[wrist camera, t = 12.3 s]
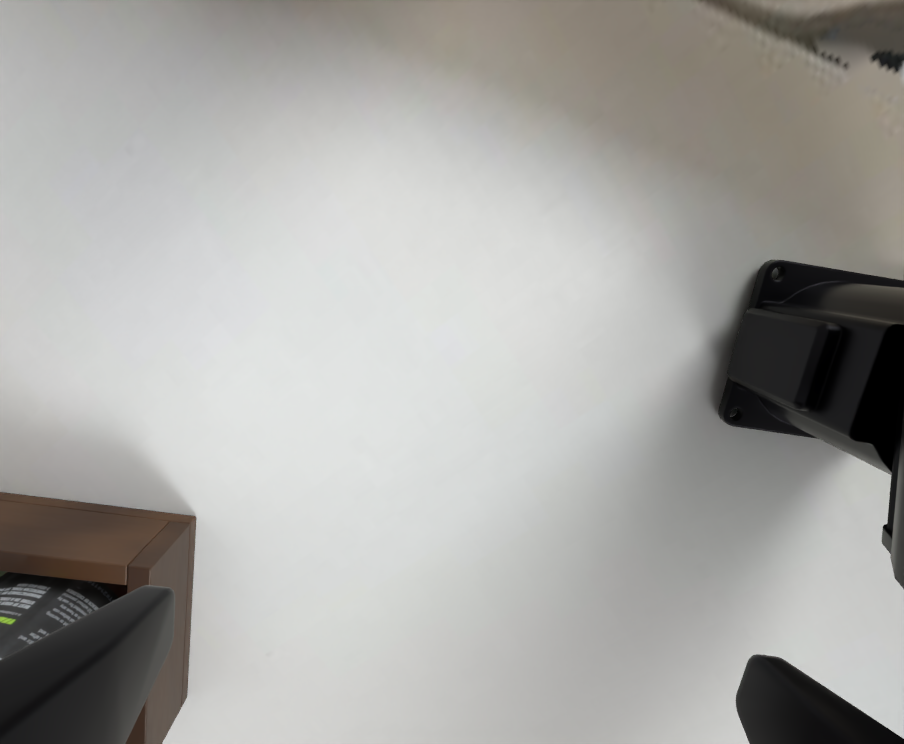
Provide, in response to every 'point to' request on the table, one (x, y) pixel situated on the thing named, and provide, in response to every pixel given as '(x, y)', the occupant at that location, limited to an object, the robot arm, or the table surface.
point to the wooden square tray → (111, 572)
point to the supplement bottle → (46, 606)
